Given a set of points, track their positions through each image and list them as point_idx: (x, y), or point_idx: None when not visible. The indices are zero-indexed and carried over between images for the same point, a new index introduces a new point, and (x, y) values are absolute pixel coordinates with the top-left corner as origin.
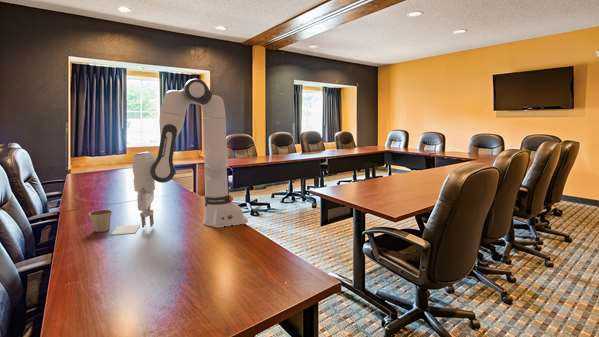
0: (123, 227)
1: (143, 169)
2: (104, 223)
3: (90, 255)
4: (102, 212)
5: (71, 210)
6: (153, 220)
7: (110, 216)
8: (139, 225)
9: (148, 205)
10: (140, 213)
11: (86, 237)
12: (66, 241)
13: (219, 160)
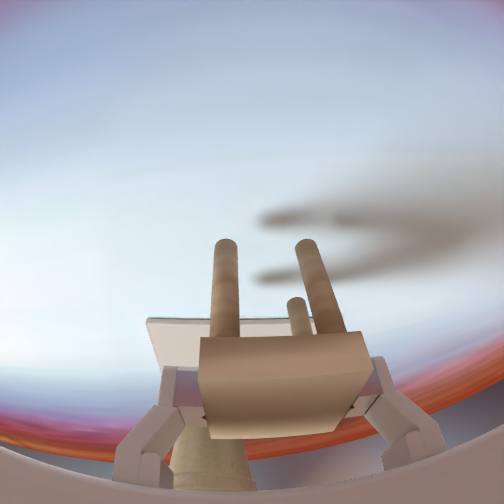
0: None
1: None
2: (240, 451)
3: (486, 362)
4: None
5: (20, 442)
6: (226, 265)
7: (203, 468)
8: (163, 325)
9: (471, 470)
10: (333, 428)
11: None
12: (314, 445)
13: None
